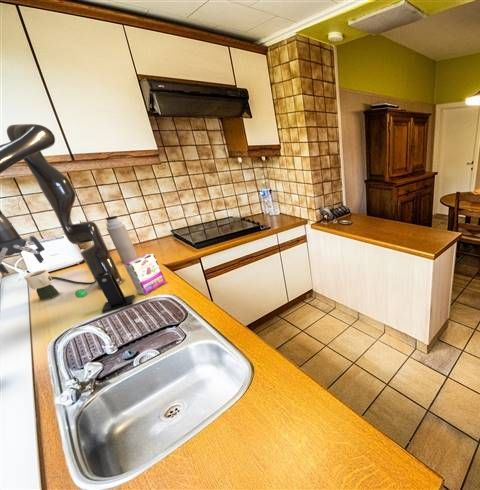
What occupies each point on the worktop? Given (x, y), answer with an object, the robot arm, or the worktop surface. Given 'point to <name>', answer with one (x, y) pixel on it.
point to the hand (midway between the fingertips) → (24, 267)
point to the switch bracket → (112, 292)
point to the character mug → (42, 284)
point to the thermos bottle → (121, 239)
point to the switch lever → (85, 290)
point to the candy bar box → (145, 273)
